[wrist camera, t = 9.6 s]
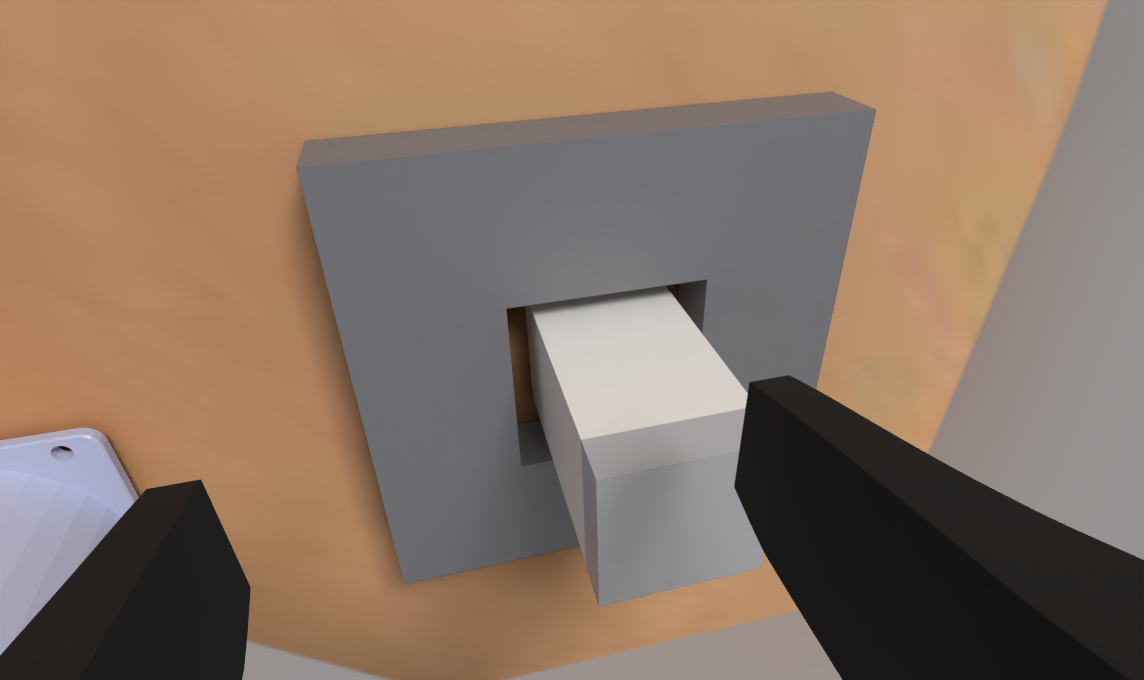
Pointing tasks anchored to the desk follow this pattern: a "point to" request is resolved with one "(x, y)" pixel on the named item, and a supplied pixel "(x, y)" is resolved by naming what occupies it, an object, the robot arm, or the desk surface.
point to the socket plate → (563, 281)
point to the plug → (642, 441)
